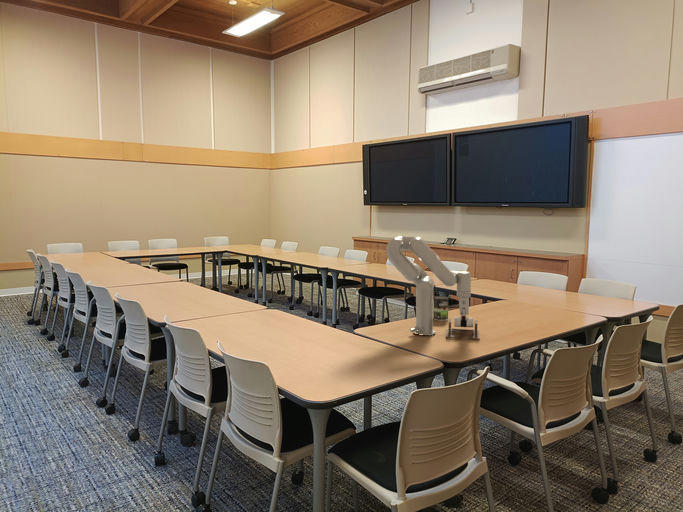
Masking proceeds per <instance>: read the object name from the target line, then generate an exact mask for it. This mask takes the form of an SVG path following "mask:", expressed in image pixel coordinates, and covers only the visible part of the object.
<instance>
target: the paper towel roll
mask: <svg viewBox="0 0 683 512" xmlns="http://www.w3.org/2000/svg"><path fill="white" fill-rule="evenodd" d="M466 320H467V327H466V328H474V317H470V316H469V317H467V316H466ZM453 323H454V327H456V328H462V327H461V316H454V321H453Z"/></svg>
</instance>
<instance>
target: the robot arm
mask: <svg viewBox="0 0 683 512" xmlns="http://www.w3.org/2000/svg"><path fill="white" fill-rule="evenodd" d="M402 251H404V252H405V251H406V252H407V251H408V252H412V253H413V254H414V255H415V256H416V257H417V258H418V259H419V260H420V261H421V262H422V263H423V264H424V265H425V266H426V267H427V268H428V269H429V271H431V272H432V274H434V276H435V277H436V278H437V279H438V280H439V281H440V282H441V283H442V284H444V285H445V286H446V287H452V286H454V285H456V297H458V306H459V307H458V308H459V315H460V317H461V327H460V328H468V327H467V320H466V317H467V316H469V315H470V298H471V297H472V296H471V295H472V294H471V293H472V290H471V289H472V274H471V272H470V271H465V270H464V271H461V270H460V271H457V270H456V271H455V270H450V269H448V267H447V266H446V265H445V264H444V263H443V261H442V260H441V259H440V257H439V255H438V254H437V253H436V252H435V251H434V250H433V249H432V248H431V247H430V246H428V244H427V243H426V241H425V239H423V238H422V237H421V236H405V235H397V236H393V237H392V238H391V239H389V241H388V242H387V245H386V249H385V252H386V258H387V259H388V261H389V262H390V263H391V264H392V266H394V268H396V271H398V272H399V273H400V274H401V275H402V276H403V277H404V279H406V281H408V282H412V283H413V284H414V285H415V303H416V304H415V309H416V310H415V325H414V328H410V329H409V332H410V333H413V332H416V333H418V334H423V335H432V336H434V335H433V334H435V335H436V330H434V320H433V297H434V287H435V282H434V280H433V278H432V277H431V276H430V275H429V274H428V273H427V272H426V271H425V270H424V269H423V268H422V267H421V266H420V265H419V264H417V263H415V262H412V261H410V259H408V257H407V256H405V254H404V253H403V252H402Z"/></svg>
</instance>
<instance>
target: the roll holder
mask: <svg viewBox="0 0 683 512" xmlns="http://www.w3.org/2000/svg"><path fill="white" fill-rule="evenodd" d="M446 338H455V339H454V340H461V339H468V340H467V341H477V340H481V337H480V331H479V330H478V320H476V319H475V320H474V328H473V329H472V328H471V329H469V328H457V327H456V328H454V327H452V318H448V328H446V332H445V339H446Z"/></svg>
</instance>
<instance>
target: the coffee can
mask: <svg viewBox="0 0 683 512" xmlns="http://www.w3.org/2000/svg"><path fill="white" fill-rule="evenodd" d="M433 319H434V320H433V321H436V320H438V321H437V322H446V321H449V297H448V296H445V295H435V296H434V295H433Z"/></svg>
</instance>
